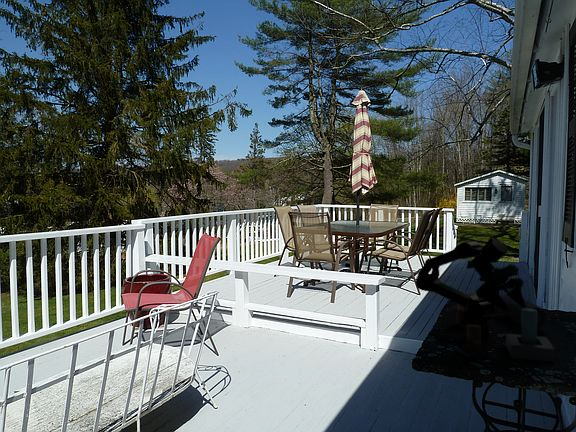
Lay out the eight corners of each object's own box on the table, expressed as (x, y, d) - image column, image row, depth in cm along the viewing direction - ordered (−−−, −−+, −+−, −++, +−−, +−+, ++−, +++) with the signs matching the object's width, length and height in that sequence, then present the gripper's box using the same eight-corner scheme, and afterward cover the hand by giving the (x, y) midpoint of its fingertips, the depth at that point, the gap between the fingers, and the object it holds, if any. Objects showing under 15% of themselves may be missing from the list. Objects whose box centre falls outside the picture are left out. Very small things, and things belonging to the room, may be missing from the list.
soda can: (460, 321, 180) (460, 291, 179) (479, 324, 175) (479, 294, 174) (454, 325, 174) (454, 295, 173) (473, 329, 169) (473, 297, 169)
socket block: (510, 357, 140) (510, 345, 140) (505, 345, 151) (506, 333, 151) (554, 362, 136) (554, 349, 136) (546, 349, 147) (546, 337, 147)
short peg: (466, 351, 146) (467, 327, 145) (466, 347, 150) (466, 323, 149) (481, 353, 144) (481, 328, 144) (480, 348, 148) (480, 325, 148)
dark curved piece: (548, 332, 165) (549, 305, 164) (523, 332, 165) (523, 305, 165) (518, 315, 188) (518, 292, 187) (495, 315, 188) (496, 292, 187)
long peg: (528, 356, 141) (529, 312, 140) (517, 351, 145) (518, 309, 145) (539, 354, 142) (540, 311, 142) (528, 350, 147) (529, 307, 146)
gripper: (483, 258, 146) (515, 298, 137) (518, 254, 156) (550, 291, 146) (463, 279, 154) (492, 318, 144) (498, 273, 163) (527, 310, 154)
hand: (516, 308), depth 147 cm, fingers open, 9 cm apart
